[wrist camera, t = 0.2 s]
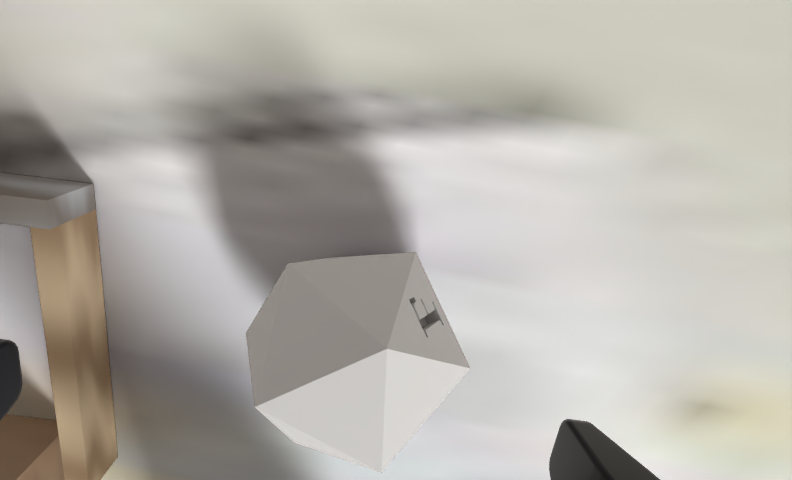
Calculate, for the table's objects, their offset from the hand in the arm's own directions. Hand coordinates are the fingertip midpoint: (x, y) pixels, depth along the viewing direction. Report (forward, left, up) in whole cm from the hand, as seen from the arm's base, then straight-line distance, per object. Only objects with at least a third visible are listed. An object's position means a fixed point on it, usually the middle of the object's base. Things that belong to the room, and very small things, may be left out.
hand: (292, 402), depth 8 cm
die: (-6, 0, -15) cm, 16 cm away
